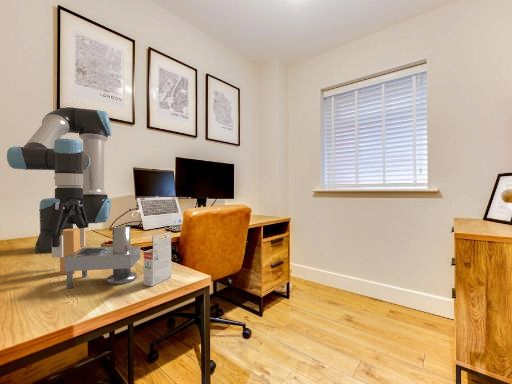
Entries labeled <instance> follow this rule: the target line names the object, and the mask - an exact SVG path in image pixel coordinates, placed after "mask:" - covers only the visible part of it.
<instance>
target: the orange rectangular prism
mask: <svg viewBox="0 0 512 384" xmlns="http://www.w3.org/2000/svg"><path fill="white" fill-rule="evenodd" d="M61 235H63V257H59V272H60V275H67V271H65V256H67V255H69V254H71V253H73V252H75V251H77V250H79V249H81V247H80V229H76V228H73V229H65V230H63V231H62V234H61ZM76 273H78V271H73V275H74V274H76Z"/></svg>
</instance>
